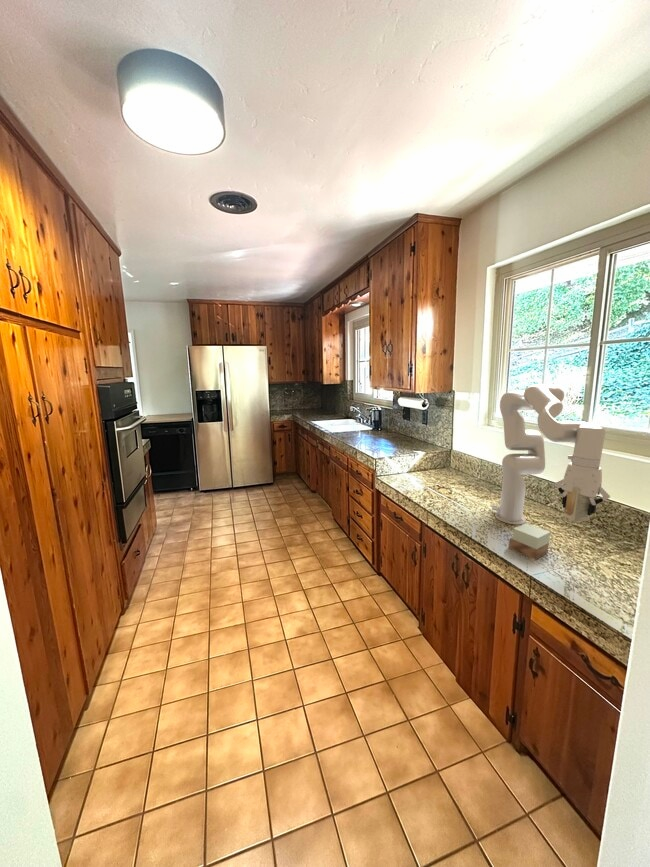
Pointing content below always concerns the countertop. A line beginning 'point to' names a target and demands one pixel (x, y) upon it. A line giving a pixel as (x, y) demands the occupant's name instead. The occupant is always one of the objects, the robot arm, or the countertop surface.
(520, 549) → the tower bottom
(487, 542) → the countertop surface
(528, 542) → the tower top
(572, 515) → the skincare box
